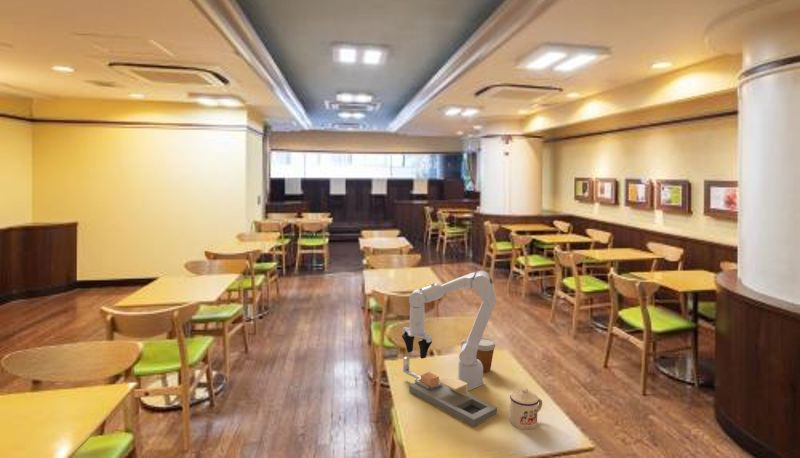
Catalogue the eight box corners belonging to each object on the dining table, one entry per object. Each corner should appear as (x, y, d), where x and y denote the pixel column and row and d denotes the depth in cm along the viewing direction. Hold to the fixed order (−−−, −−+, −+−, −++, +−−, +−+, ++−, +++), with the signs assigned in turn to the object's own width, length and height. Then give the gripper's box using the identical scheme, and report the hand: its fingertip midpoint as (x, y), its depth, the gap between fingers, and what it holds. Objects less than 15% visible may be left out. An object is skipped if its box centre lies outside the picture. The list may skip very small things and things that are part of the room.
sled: (398, 373, 185) (398, 358, 184) (410, 369, 189) (410, 354, 188) (430, 390, 172) (430, 374, 171) (442, 385, 176) (442, 369, 175)
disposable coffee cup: (494, 375, 190) (495, 347, 189) (470, 373, 192) (471, 344, 191) (494, 366, 200) (495, 338, 198) (471, 363, 202) (472, 336, 200)
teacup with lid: (521, 432, 150) (523, 398, 149) (503, 418, 158) (504, 385, 157) (550, 424, 155) (552, 390, 154) (531, 411, 163) (533, 379, 162)
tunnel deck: (409, 391, 176) (409, 373, 175) (432, 382, 184) (432, 364, 183) (473, 426, 153) (474, 406, 152) (497, 414, 161) (497, 394, 160)
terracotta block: (420, 384, 177) (420, 375, 176) (429, 380, 180) (429, 371, 179) (430, 389, 173) (430, 379, 173) (438, 385, 176) (438, 376, 176)
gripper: (396, 318, 186) (396, 351, 188) (422, 328, 175) (421, 363, 177) (410, 314, 191) (409, 347, 193) (436, 324, 180) (435, 358, 182)
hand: (416, 354), depth 185 cm, fingers open, 7 cm apart
